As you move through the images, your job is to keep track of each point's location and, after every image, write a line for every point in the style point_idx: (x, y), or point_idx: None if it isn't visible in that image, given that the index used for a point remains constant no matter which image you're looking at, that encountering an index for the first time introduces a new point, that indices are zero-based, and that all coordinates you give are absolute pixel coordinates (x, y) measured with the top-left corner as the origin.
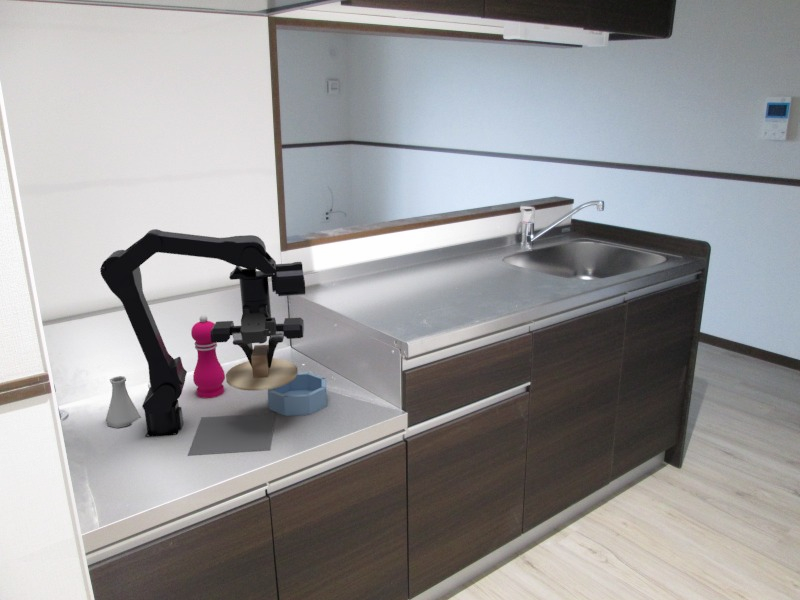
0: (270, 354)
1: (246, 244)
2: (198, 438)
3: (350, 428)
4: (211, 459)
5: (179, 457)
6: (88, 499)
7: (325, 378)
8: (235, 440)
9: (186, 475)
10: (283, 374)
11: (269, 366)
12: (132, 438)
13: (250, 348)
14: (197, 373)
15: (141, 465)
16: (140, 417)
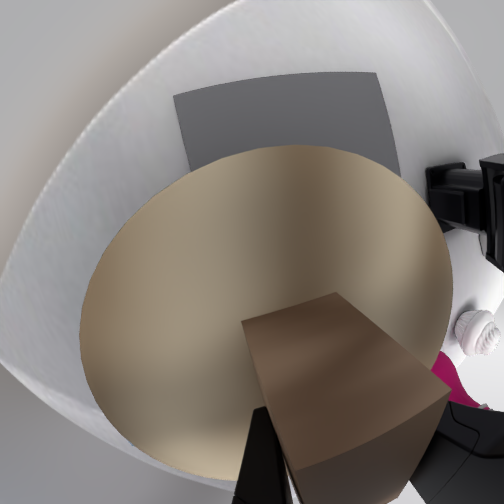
0: (261, 490)
1: None
2: (386, 148)
3: (21, 268)
4: (320, 63)
5: (388, 81)
6: (430, 4)
7: (131, 443)
8: (295, 136)
9: (341, 16)
10: (150, 371)
11: (260, 412)
12: (473, 166)
13: (447, 463)
14: (453, 367)
15: (428, 67)
16: (482, 237)
